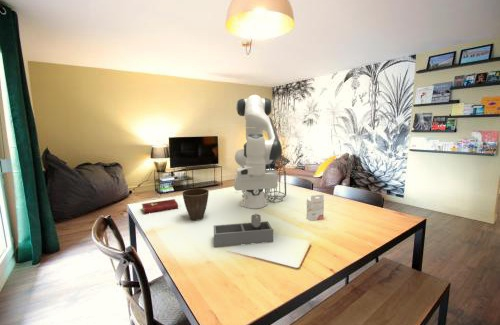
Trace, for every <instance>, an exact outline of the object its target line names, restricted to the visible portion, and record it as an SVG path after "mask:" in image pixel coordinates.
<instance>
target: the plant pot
mask: <svg viewBox="0 0 500 325" xmlns="http://www.w3.org/2000/svg"><path fill="white" fill-rule="evenodd" d="M209 191H210V190H208V189H206V188H192V189H191V188H190V189H186V190H184V191H182V199H183V202H184V206H185V209H186V212H187V214H188V216H189V218H190V220H192V221H200V220H203V219H204V216H205V214H206V209H207V206H208V201H209V200H208V199H209Z"/></svg>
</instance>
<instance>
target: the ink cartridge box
mask: <svg viewBox="0 0 500 325" xmlns="http://www.w3.org/2000/svg"><path fill="white" fill-rule="evenodd" d="M324 206H325V199H324V194H315V195H314V194H313V195H311V196H310V198H306V219H307V220H309V221H311V222H312V221H320V220H324V210H325V209H324V208H325V207H324Z"/></svg>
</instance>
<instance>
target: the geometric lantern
mask: <svg viewBox="0 0 500 325" xmlns="http://www.w3.org/2000/svg"><path fill="white" fill-rule="evenodd" d="M290 162H291V160H289V159H288V158H287V157H284V156H283V154H282V155H281V156H280V157H279V158H278V159H277V160H273V161H272V162H271V164H272V165H273V166H274V167H275V170H277V172H278V173H279V174H278V176H277V178H278V180H279V181H278V182H279V183H278V184H279V185H278V186H279V188H278V187H277V188H274V189H273V191H272V189H270V192H269V194H268V198H267V200H268V201H270V202H272V203H275V201H276V199H277V201H276V203H280V202H281V201H282V200H283V199H284V198H285V197H286V196H287V171H286V166H287V164H288V163H290ZM271 164H266V165H265V166H266V167H267V169H272V167H271ZM280 164H281V165H280ZM278 167H279V169H278ZM281 169H283V170H281ZM282 173H283V177H284V178H283V179H284V192H281V174H282ZM277 189H279V190H278V191H277ZM266 192H267V190H266V189H264V193H265V194H266ZM272 193H273V195H272ZM276 193H278V194H276ZM279 194H283V196H282V195H279Z"/></svg>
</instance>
